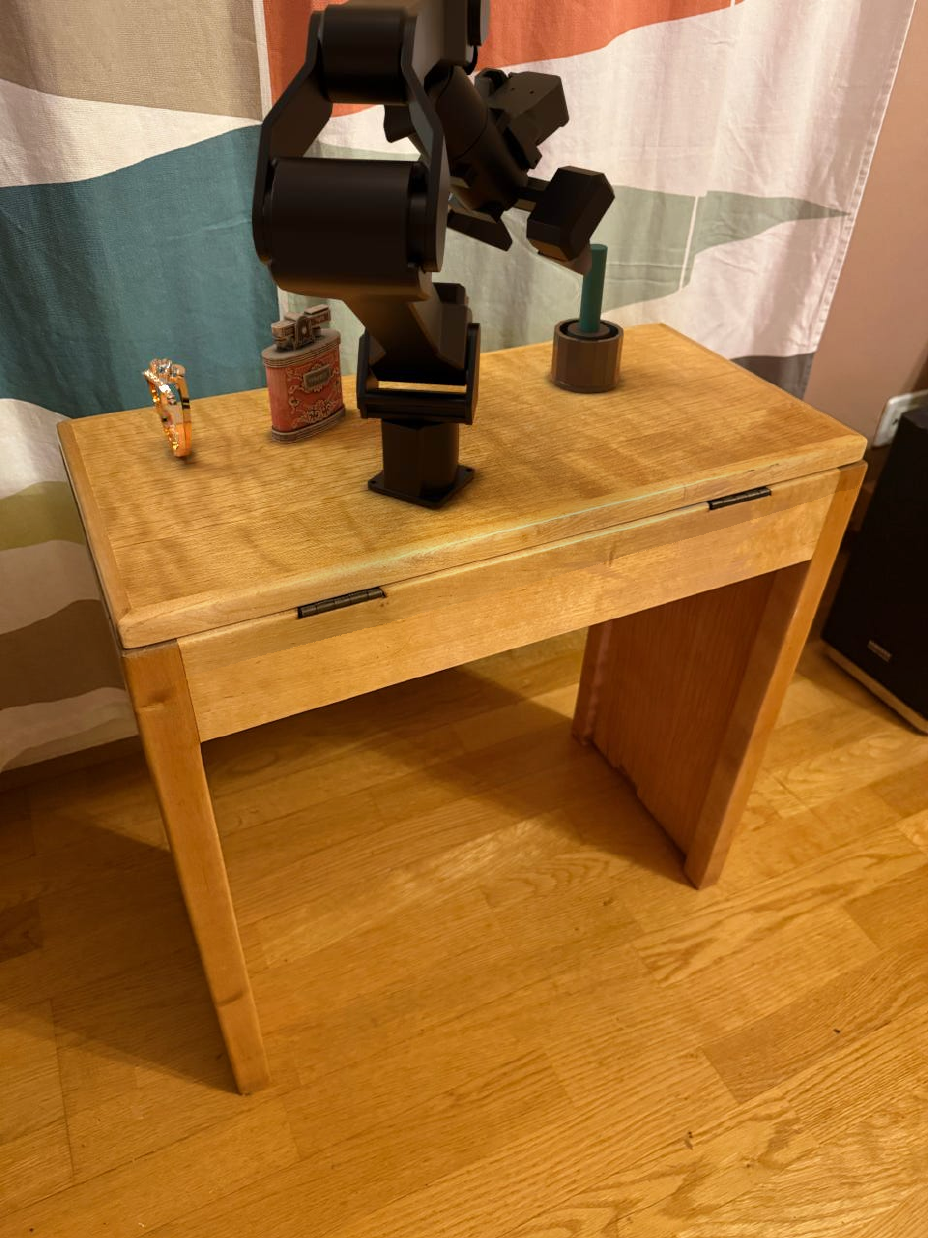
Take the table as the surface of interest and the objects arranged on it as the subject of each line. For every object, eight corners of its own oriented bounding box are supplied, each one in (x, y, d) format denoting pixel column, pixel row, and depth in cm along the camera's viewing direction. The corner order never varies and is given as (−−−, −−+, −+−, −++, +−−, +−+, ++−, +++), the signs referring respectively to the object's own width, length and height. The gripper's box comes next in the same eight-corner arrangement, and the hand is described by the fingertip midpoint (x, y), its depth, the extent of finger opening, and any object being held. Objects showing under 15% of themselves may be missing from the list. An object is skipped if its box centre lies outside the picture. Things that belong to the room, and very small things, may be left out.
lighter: (290, 446, 78) (277, 330, 72) (262, 435, 79) (247, 321, 73) (354, 415, 83) (347, 304, 77) (327, 405, 84) (318, 296, 78)
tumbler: (602, 398, 86) (608, 346, 83) (539, 384, 89) (542, 333, 86) (627, 374, 91) (633, 325, 88) (566, 361, 94) (570, 313, 91)
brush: (595, 384, 87) (609, 255, 80) (557, 376, 89) (567, 248, 82) (611, 371, 90) (625, 244, 83) (573, 363, 92) (584, 237, 85)
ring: (151, 441, 78) (131, 349, 73) (189, 433, 79) (172, 343, 74) (169, 476, 73) (149, 381, 68) (209, 468, 74) (192, 374, 70)
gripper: (613, 43, 60) (686, 196, 73) (426, 21, 71) (518, 159, 84) (524, 190, 61) (612, 317, 74) (352, 146, 71) (455, 264, 84)
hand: (547, 258), depth 79 cm, fingers open, 9 cm apart
